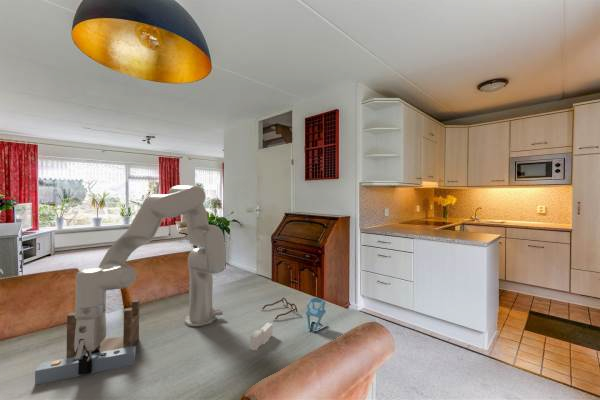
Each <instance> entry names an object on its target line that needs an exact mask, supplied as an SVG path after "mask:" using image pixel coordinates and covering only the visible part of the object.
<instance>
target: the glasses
mask: <svg viewBox="0 0 600 400" xmlns="http://www.w3.org/2000/svg"><path fill="white" fill-rule="evenodd" d="M284 301H285V303H284ZM280 302H282V304H283V303H284V304H286V306H288V305H290V307H291V310H289V311H287V312H285V313H279V314H278V315H277V316H275V318H274V319H276V320H277V319H279V317H281V316H286V315H288V314H290V313H292V312H293V311H294V312H297V313H298V307H297V306H296V304H295V303H290V302H288V301H287V299H286V298H285V297H282V299H280V300H277V301H275V302H273V303H271V304H265V305H264V306H263V307H262V308H261V310H262V309H263V310H264V309H265V308H266V307H269V306H271V307H272V306H274V305H276V304H279V303H280ZM293 306H294V307H295V308H294V307H293ZM288 307H289V306H288ZM292 309H293V310H292Z"/></svg>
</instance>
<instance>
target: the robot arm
mask: <svg viewBox="0 0 600 400" xmlns="http://www.w3.org/2000/svg"><path fill="white" fill-rule="evenodd" d="M205 201H206V192H205V190H204V189H203V188H202V187H200V186H198V185H174V186H172V187H170V189H168V193H167V194H162V193H161V194H160V193H159V194H152V195H149V196H147V197H146V198H145V199H144V200H143V202H142V204H141V206H140V208H139V209H138V211H137V213H136V215H135V216H134V218H133V220H132V221H131V224H130V225H129V226H128V229H127V230H126V232H124V233H123V234H122V235H121V236H120V237H119V238H118V239H117V240H116V241H115V242H114V243H112V245H111V246H110V247H109V249H108V250H107V252H106V253H105V255H104V257H103V258H102V260H101V262H100V263H99V266H98V267H89V268H84V269H81V270H79V271H78V272H77V273H76V274H75V285H74V286H75V291H74V294H75V296H74V299H75V300H74V313H75V318H76V319H77V322H76V329H75V340H74V350H75V353H77V354H76V358H75V359H76V360H78V363H79V368H78V374H79V375H80V376H83V375H82V374H85V375H90V374H92V373H91V372H92V359H91V354H93V353H98V352H100V343H101V342H102V341H103V340H104V339H106V337H107V318H106V311H107V308H106V307H107V291H111V290H112V291H113V290H121V289H125V288H128V287H130V286H131V285H133V284H134V283H135V282H136V280H137V277H138V274H137V273H138V272H137V271H136V269H135V268H134V267H133V266H131V265H128V264H126V262H127V260H128V259H129V257H130V256H131V255H132V253H133V252H134V251H136V250H137V249H139V248H140V247H142V246H144V245H146V244H148V243H150V242H152V241H153V240H154V237H155V236H156V234H157V232H158V230H159V228H160V226H161V224H162V222H163V220H164V219H173V218H176V217H179V216H182V215H184V217H185V221H186V230H187V238H188V241H189V243H190V244H191V245H193V246H197V247H196V248H193V249H192V250H191V251H190V252H189V253H188V256H187V267H188V273H189V293H188V294H189V297H188V300H189V301H188V303H189V304H188V315H187V316H186V317H185V318H184V323H185V324H186V325H187V326H189V327H202V326H203V327H204V326H207V325H209V324H212V323H214V322H215V321H216V318H217V317H216V316H223V309H222V310H221V309H220V308H216V309H215V308H214V306H213V292H214V291H213V283H214V279H213V274H220V273H221V272H222V271H223V270H224V269H225V266H226V263H227V253H226V252H227V250H226V244H225V242H226V241H225V236H224V232H223V230H222V229H221V228H220V227H219V226H217V225H215V224H209V220H208V214H207V209H206V207H205V206H204V203H205ZM85 348H86V349H87V350H84V349H85ZM98 349H99V350H98ZM83 353H87V354H88V355H84V354H83Z"/></svg>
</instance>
